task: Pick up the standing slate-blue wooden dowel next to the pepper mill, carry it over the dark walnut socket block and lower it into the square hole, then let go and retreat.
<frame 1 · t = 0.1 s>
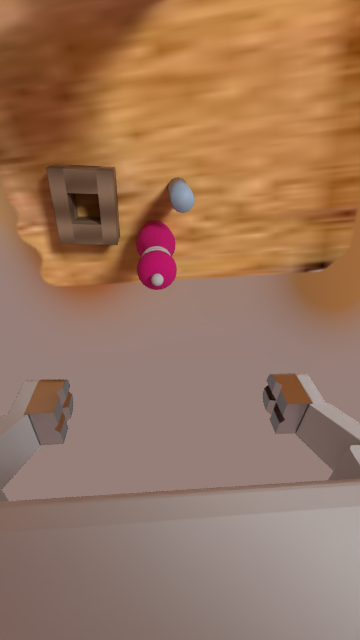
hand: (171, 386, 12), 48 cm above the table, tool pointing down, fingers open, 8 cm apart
pepper mill: (155, 236, 56), on the table
socket block: (89, 202, 52), on the table
peg: (177, 188, 51), on the table
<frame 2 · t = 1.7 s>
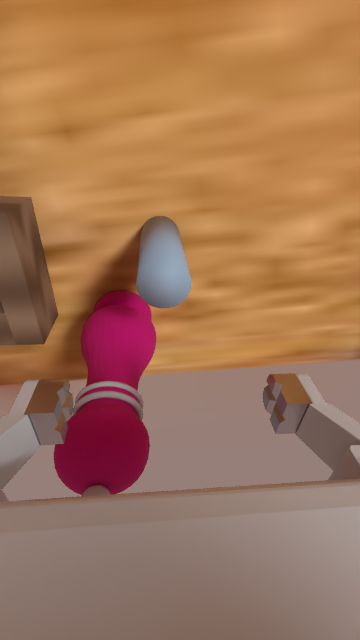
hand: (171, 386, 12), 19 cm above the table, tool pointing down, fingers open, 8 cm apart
pepper mill: (123, 313, 32), on the table
peg: (160, 235, 27), on the table
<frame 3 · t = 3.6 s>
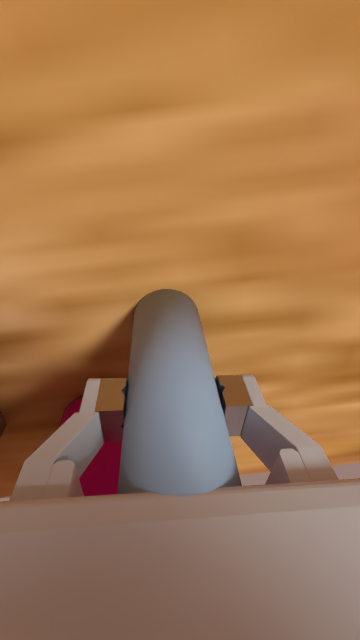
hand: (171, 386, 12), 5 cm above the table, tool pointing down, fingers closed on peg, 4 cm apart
pepper mill: (108, 418, 21), on the table
peg: (166, 317, 16), on the table, touching gripper
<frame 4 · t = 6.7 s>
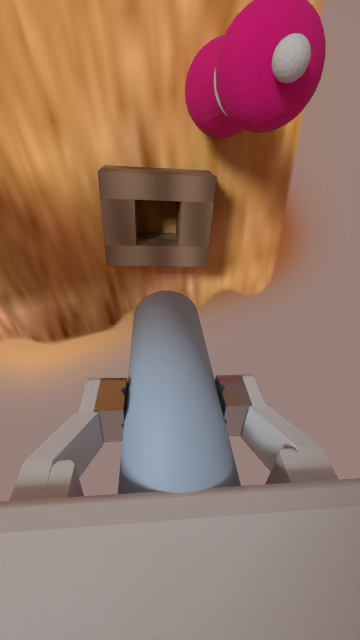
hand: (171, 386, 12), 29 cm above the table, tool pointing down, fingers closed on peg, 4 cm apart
pepper mill: (215, 95, 29), on the table
socket block: (157, 213, 35), on the table
peg: (166, 319, 16), point 24 cm above the table, touching gripper
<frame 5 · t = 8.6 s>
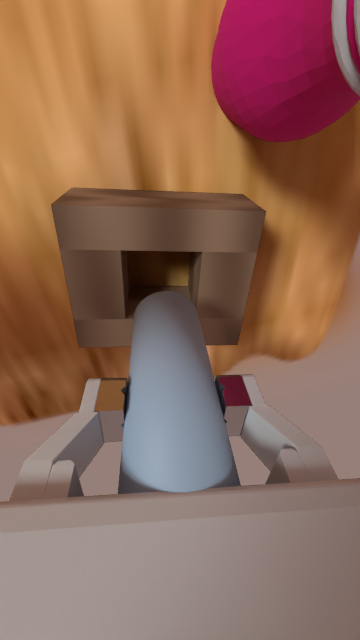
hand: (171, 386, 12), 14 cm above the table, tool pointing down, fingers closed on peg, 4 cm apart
pepper mill: (262, 66, 17), on the table
socket block: (159, 258, 23), on the table
peg: (166, 319, 16), point 8 cm above the table, touching gripper
when the fingers open (7 cm above the table, at t = 10.2 s): peg drops 2 cm, resting in socket block.
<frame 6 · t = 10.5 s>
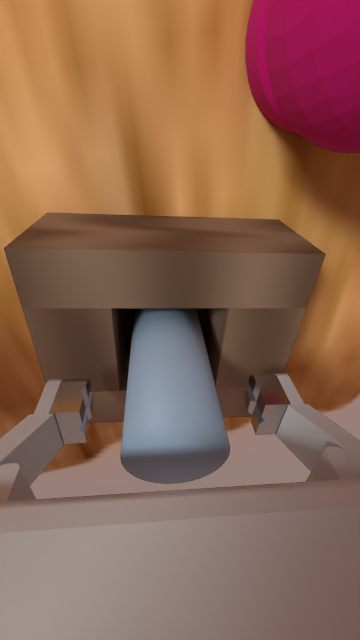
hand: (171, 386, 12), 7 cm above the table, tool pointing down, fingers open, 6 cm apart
pepper mill: (318, 41, 11), on the table
socket block: (165, 299, 17), on the table
peg: (164, 301, 18), resting in socket block
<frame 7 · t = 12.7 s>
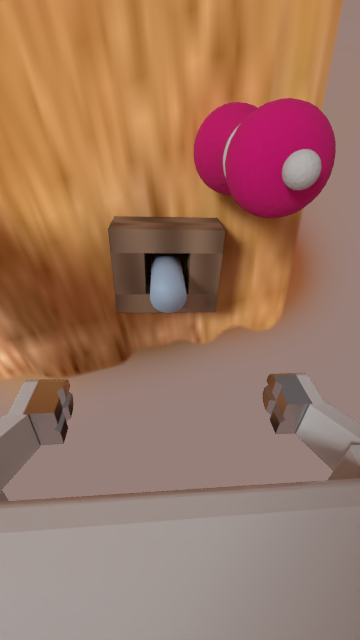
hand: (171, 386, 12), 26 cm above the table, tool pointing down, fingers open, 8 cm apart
pepper mill: (223, 149, 30), on the table
socket block: (166, 258, 36), on the table
peg: (165, 258, 36), resting in socket block
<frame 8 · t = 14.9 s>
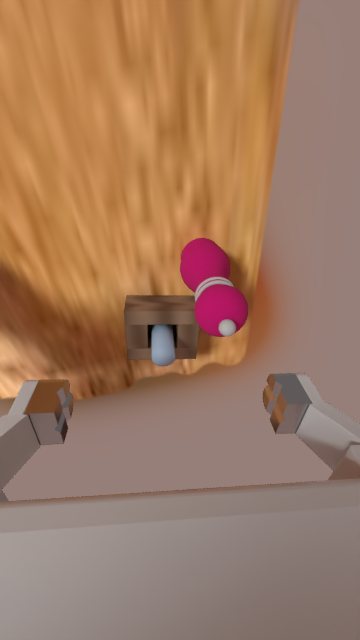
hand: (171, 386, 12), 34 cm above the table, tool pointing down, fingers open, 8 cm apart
pepper mill: (200, 256, 45), on the table
socket block: (161, 319, 51), on the table
peg: (161, 320, 51), resting in socket block
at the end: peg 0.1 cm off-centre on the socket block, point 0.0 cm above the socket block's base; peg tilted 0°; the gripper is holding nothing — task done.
